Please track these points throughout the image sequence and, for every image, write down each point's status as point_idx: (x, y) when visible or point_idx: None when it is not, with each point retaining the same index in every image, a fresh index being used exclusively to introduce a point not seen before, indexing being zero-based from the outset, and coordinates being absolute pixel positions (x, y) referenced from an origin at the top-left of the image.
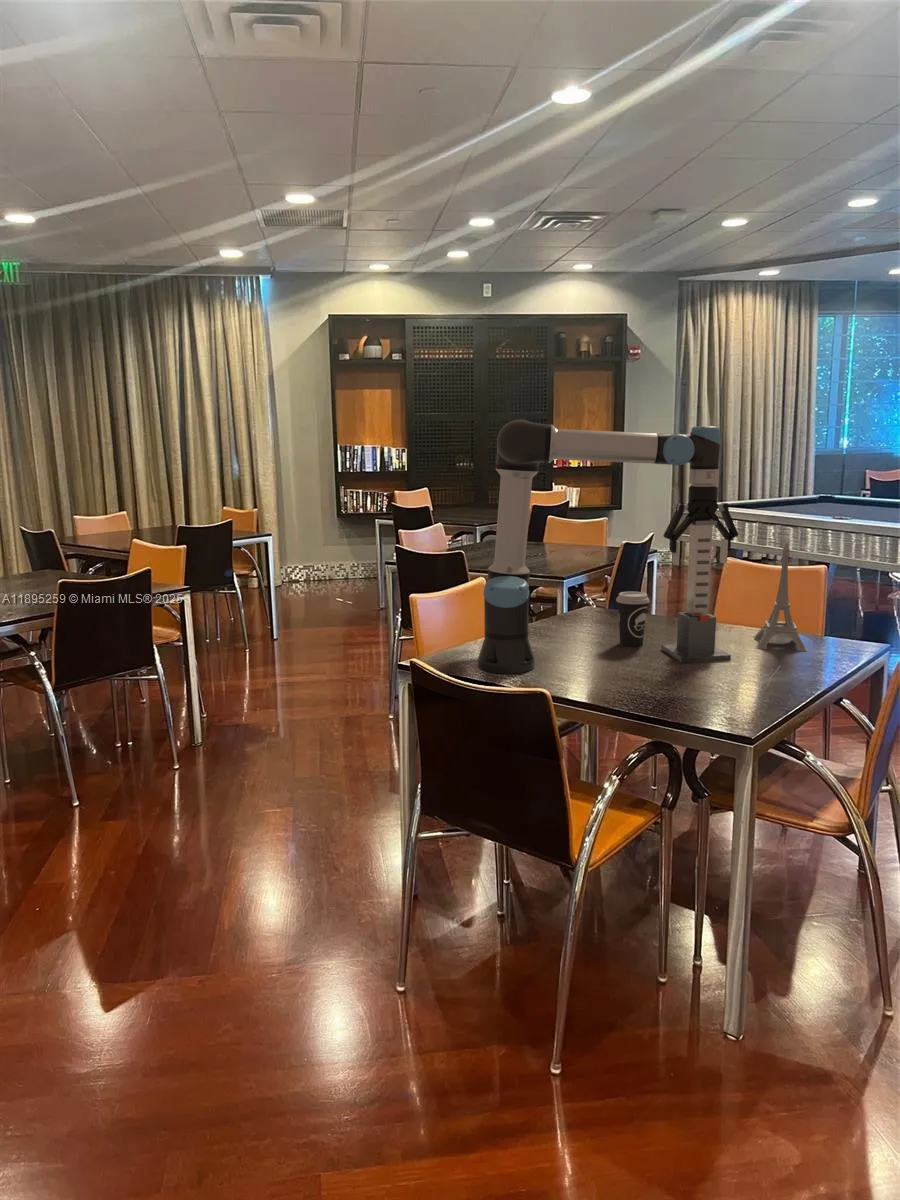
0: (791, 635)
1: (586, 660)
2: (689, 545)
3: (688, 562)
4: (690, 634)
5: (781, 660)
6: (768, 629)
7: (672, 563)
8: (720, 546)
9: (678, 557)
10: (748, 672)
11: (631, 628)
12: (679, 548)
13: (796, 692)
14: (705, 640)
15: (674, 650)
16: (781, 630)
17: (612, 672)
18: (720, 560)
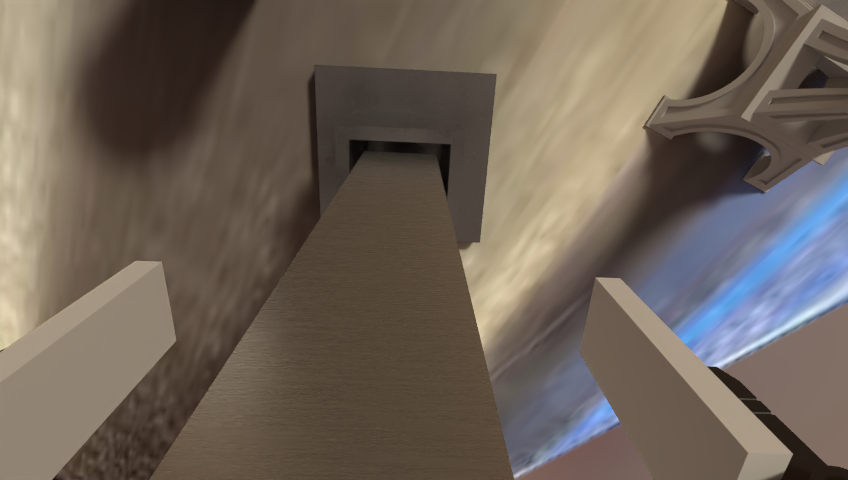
0: (782, 155)
1: (30, 139)
2: (244, 342)
3: (305, 241)
4: None
5: (617, 262)
6: (736, 115)
7: (133, 263)
8: (674, 372)
9: (126, 384)
10: None
11: None
12: (64, 462)
13: None
14: None
15: (331, 153)
16: (772, 137)
17: (101, 274)
18: (600, 298)
